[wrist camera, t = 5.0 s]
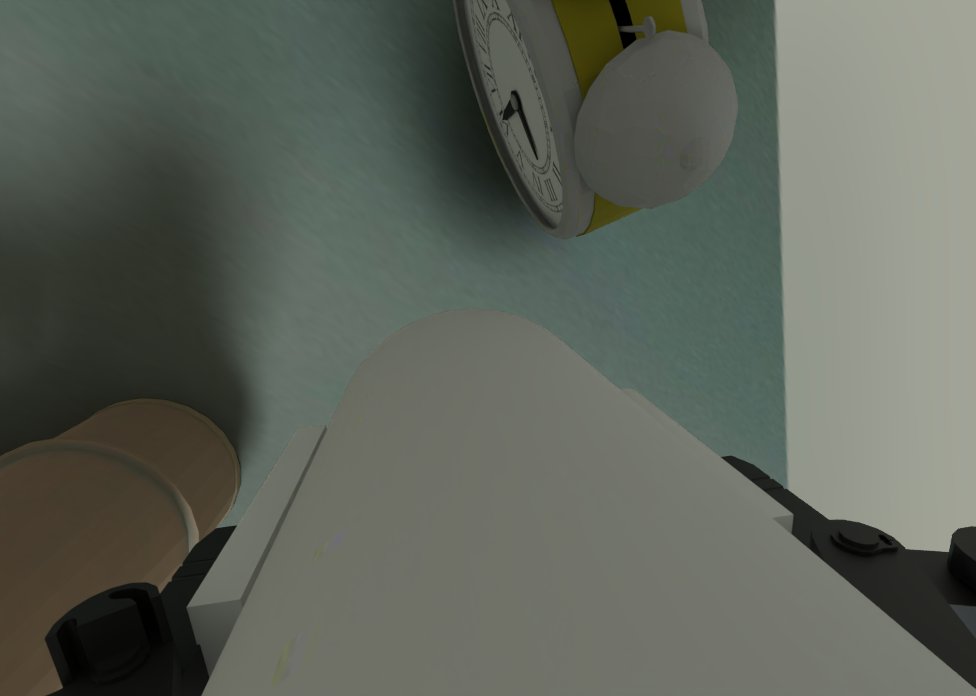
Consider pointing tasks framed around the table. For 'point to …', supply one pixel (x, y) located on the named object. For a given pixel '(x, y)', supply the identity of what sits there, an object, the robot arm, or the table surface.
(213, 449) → the binoculars
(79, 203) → the table surface
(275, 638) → the white cylinder
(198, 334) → the table surface
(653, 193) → the alarm clock
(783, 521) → the robot arm
